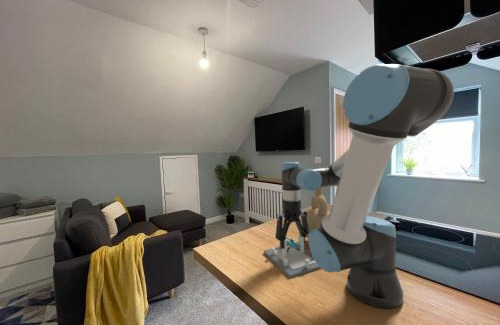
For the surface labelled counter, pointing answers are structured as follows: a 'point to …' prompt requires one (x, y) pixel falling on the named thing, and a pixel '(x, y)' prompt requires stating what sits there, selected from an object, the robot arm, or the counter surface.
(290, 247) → the stick construction toy
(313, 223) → the vase
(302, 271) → the pin tray
